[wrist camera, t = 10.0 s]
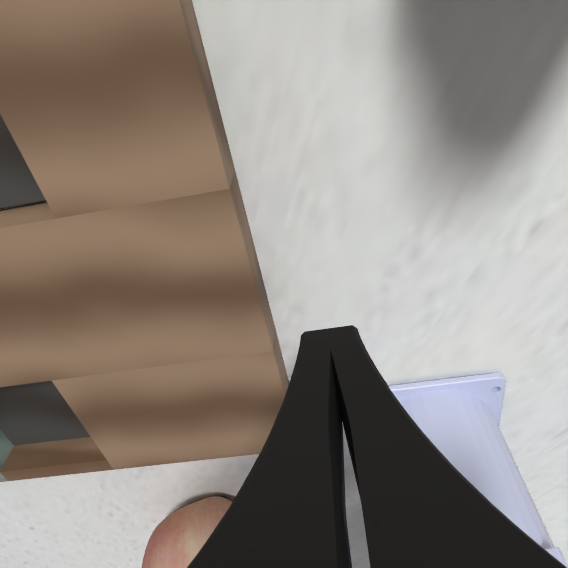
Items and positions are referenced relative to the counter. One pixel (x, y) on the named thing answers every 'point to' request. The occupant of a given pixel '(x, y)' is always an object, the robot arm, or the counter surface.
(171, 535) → the apple
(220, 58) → the counter surface
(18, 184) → the board
